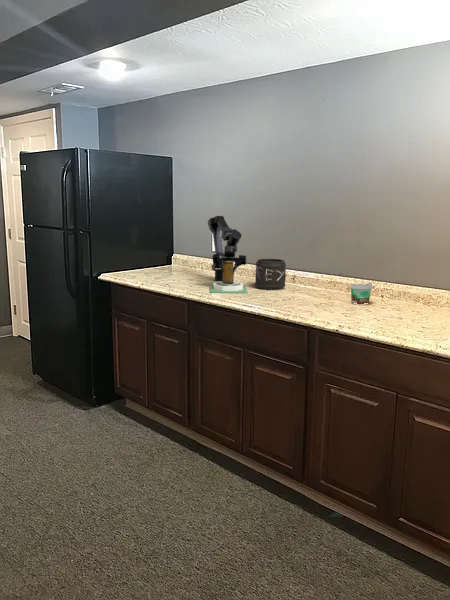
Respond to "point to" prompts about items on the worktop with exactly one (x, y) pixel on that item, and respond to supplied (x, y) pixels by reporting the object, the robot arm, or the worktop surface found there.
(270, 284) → the lettered dark canister
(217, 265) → the robot arm
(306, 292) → the worktop surface
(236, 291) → the green mat
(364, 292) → the food container
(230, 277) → the yellow bottle can
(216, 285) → the white octagonal fence
